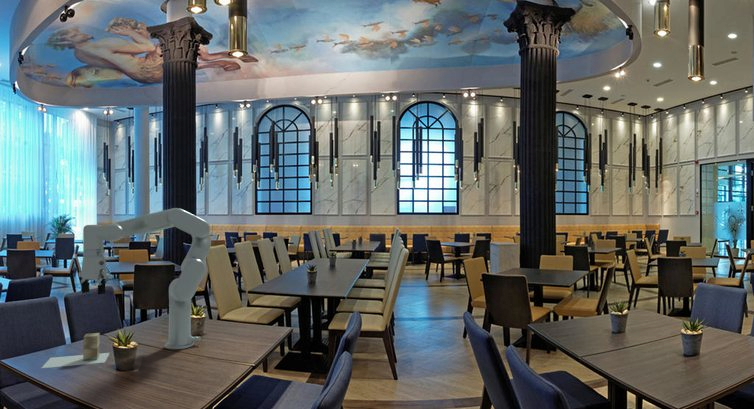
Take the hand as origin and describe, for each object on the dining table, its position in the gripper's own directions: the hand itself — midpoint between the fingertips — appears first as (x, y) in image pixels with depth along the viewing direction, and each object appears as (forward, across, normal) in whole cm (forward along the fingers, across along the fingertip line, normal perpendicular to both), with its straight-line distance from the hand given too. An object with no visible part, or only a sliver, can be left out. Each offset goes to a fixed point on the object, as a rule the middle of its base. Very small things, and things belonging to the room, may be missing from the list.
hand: (93, 293), depth 207 cm
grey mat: (+27, -1, +8) cm, 28 cm away
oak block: (+26, -5, +4) cm, 27 cm away
